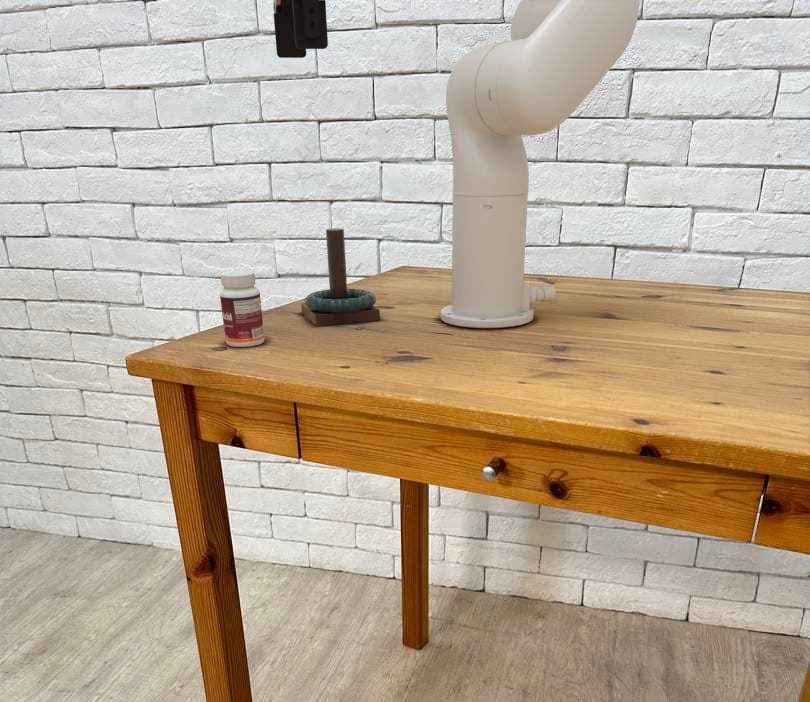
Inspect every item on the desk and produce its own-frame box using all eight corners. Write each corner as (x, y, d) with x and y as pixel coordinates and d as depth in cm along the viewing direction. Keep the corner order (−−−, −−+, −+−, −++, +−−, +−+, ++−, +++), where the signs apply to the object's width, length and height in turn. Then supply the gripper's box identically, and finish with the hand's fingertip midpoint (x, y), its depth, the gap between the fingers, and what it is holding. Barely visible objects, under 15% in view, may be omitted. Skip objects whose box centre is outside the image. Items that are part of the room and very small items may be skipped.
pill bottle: (222, 341, 96) (213, 271, 93) (259, 336, 98) (252, 268, 94) (230, 349, 93) (221, 277, 89) (269, 344, 94) (261, 273, 90)
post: (361, 308, 113) (358, 224, 108) (380, 320, 105) (376, 230, 100) (301, 313, 110) (294, 228, 105) (316, 326, 103) (309, 234, 98)
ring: (364, 298, 112) (364, 285, 111) (384, 310, 104) (383, 296, 103) (299, 303, 109) (298, 290, 108) (314, 316, 101) (313, 302, 100)
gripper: (348, -191, 66) (358, 45, 74) (305, -131, 81) (317, 60, 89) (262, -199, 64) (281, 44, 72) (233, -137, 78) (252, 60, 87)
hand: (301, 53), depth 80 cm, fingers open, 9 cm apart
